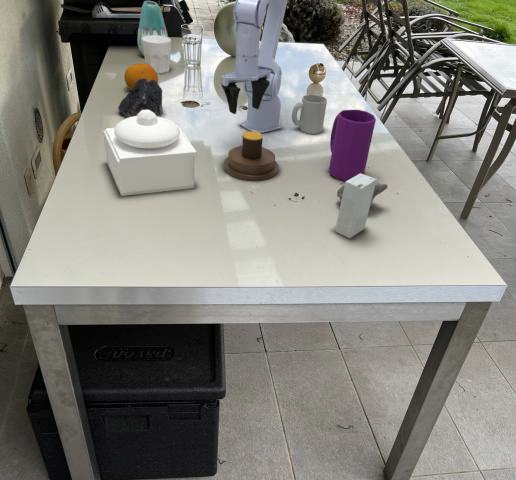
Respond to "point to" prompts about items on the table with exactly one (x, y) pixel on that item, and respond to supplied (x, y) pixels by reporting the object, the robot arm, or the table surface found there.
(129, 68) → the fruit
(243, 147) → the coffee pod
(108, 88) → the table surface
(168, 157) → the butter dish
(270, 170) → the pod stand
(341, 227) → the cosmetic box
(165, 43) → the cup
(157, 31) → the vase
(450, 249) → the table surface
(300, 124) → the cup
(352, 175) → the mug
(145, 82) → the crystal cluster
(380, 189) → the fossil
